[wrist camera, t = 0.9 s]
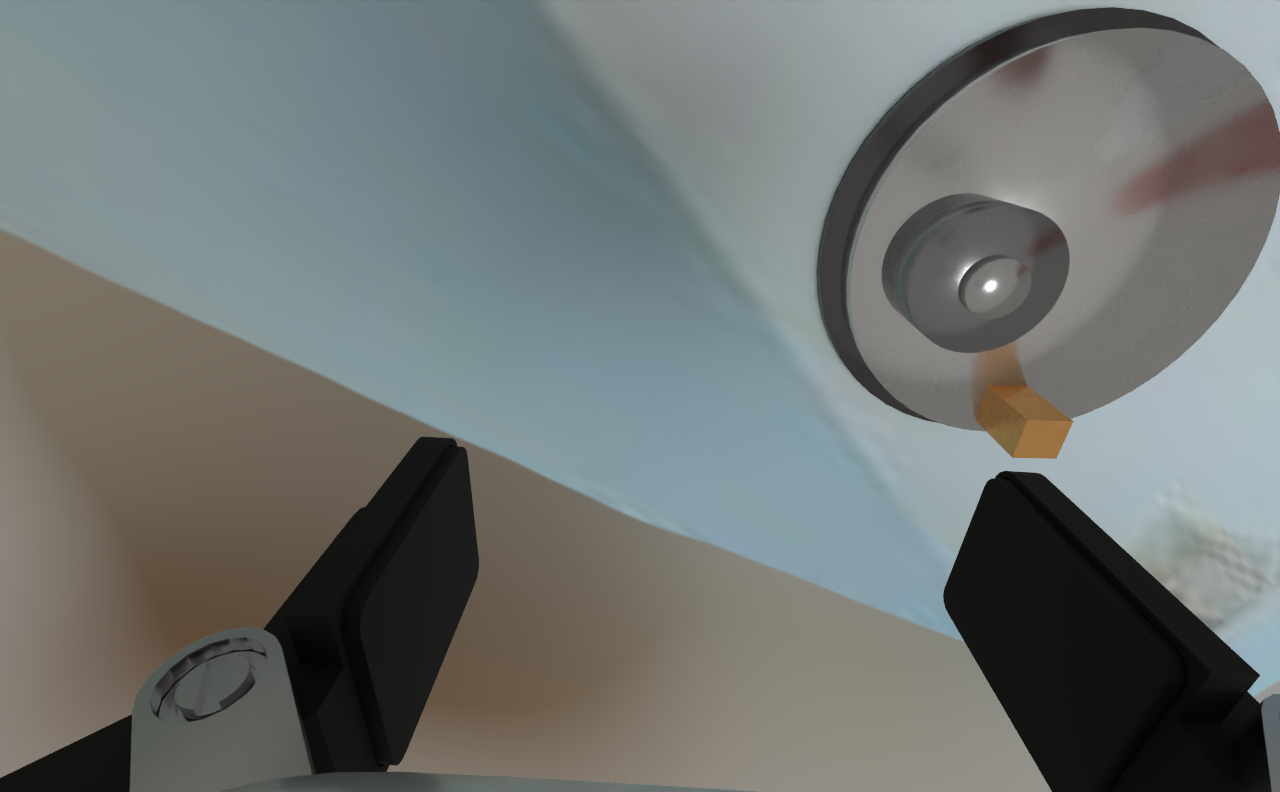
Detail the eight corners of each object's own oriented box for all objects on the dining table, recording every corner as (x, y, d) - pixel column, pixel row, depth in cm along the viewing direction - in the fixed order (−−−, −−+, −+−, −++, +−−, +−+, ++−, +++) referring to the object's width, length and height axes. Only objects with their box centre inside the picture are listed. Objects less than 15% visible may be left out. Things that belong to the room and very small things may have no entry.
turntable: (885, 29, 26) (943, 12, 21) (1333, 35, 26) (1507, 19, 21) (813, 411, 36) (840, 465, 31) (1136, 418, 36) (1219, 473, 31)
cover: (898, 192, 28) (942, 208, 24) (1038, 194, 28) (1108, 211, 23) (869, 322, 31) (903, 358, 27) (994, 325, 31) (1047, 361, 27)
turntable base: (859, 7, 27) (866, 4, 26) (1338, 13, 27) (1361, 10, 26) (791, 414, 38) (794, 422, 37) (1130, 421, 38) (1141, 429, 37)
